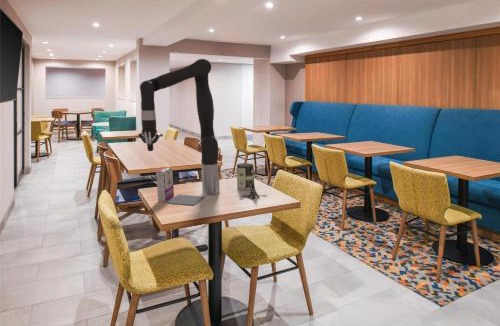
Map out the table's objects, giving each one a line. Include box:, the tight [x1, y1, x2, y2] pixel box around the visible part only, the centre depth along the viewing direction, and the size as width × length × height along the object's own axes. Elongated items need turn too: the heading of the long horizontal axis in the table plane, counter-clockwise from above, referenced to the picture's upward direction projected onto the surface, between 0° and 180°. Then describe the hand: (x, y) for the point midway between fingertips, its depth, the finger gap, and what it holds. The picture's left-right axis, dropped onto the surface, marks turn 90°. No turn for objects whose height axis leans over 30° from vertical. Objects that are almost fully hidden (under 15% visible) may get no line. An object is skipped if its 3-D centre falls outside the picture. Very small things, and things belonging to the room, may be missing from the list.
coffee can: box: [236, 162, 254, 190], centre depth 227 cm, size 10×10×14 cm
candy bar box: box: [155, 167, 175, 202], centre depth 204 cm, size 11×5×16 cm, turn 168°
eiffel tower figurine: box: [239, 176, 268, 200], centre depth 205 cm, size 15×10×13 cm
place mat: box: [164, 194, 207, 207], centre depth 202 cm, size 17×16×1 cm
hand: (150, 150), depth 203 cm, fingers closed
